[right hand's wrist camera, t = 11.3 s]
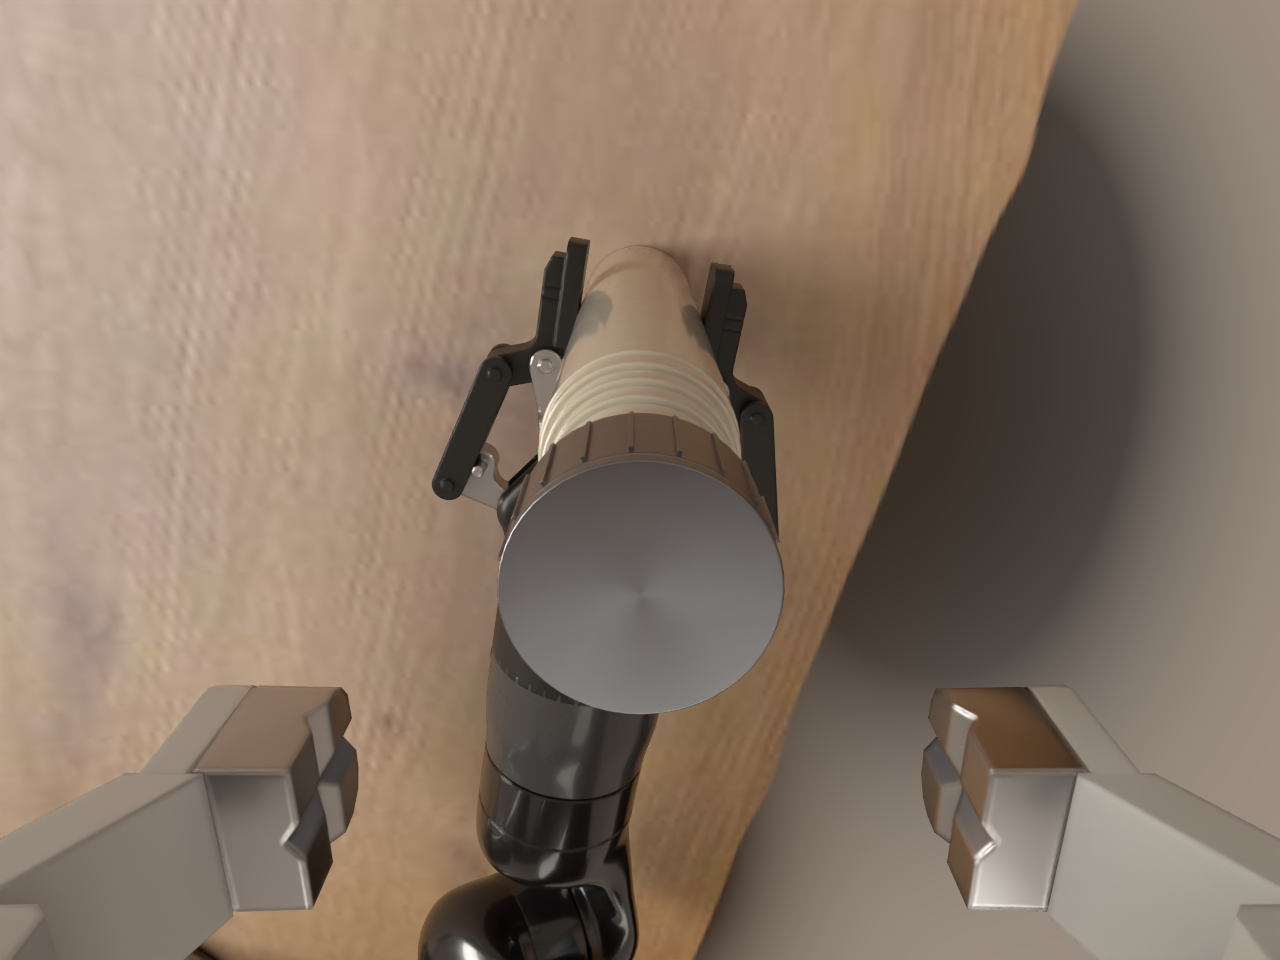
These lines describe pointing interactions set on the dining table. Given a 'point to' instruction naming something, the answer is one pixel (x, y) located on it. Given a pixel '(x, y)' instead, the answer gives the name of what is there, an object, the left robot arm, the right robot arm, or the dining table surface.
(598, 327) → the bottle
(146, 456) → the dining table surface
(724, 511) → the cap
